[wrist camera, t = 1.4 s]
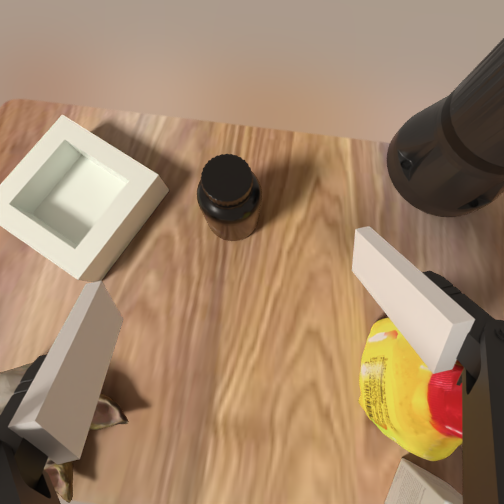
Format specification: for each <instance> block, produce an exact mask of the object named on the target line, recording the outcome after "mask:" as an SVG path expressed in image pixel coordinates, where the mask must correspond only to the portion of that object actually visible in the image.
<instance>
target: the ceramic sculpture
mask: <svg viewBox="0 0 504 504" xmlns="http://www.w3.org/2000/svg"><path fill="white" fill-rule="evenodd" d="M31 365H32V363H31V364H26V365H23V366H21V367H18V368H15V369H11V370H8V371H4V372H0V415H1V413H2V411H3V410H4V408H5V406H6V405H7V403H8V401H9V399H10V398H11V396H12V395H14V391H15V389H16V388H17V386H18V384H20V381H21V379H22V377H23V376H24V374H25V372H26V370H27V369H28V368H29V367H30V366H31ZM116 424H128V420H127V418H126V416H125V415H124V413H123V411H122V410H121V408H120V407H119V406H118V404H117V403H115V402H114V401H113V400H112V399H111V398H110V397H108V396H105V395H103V394H100V396H99V399H98V403H97V406H96V409H95V412H94V415H93V419H92V422H91V425H90V428H89V430H96V429H103V428H106V427H110V426H113V425H116ZM44 470H45V471H46V472H47V473H48V474H49V477H50V479H51V482H52V484H53V486H54V489H55V491H56V493H58V494H60V495H61V497H62V498H63V499H64V500H66V501H67V502H69V503H70V501H71V500H72V497H73V485H72V484H73V464H72V461H70V462H66V463H62V464H56V463H55V462H53V461H52V460H51V459H49V458H48V460H47V462H46V465H45V467H44Z"/></svg>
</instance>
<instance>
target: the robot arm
mask: <svg viewBox="0 0 504 504" xmlns="http://www.w3.org/2000/svg"><path fill="white" fill-rule="evenodd" d="M387 167H388V172H389V175H390V178H391V180H392V182H393V184H394V186H395V188H396V189H397V191H398V192H399V193H400V194H401V196H402V197H403V198H404V199H405V200H407V201H408V202H409V203H410V204H412V205H413V206H414V207H416V208H418V209H420V210H422V211H424V212H426V213H429V214H432V215H436V216H442V217H456V216H462V215H465V214H468V213H471V212H473V211H475V210H478V209H480V208H482V207H484V206H486V205H488V204H489V203H491V202H492V201H494V200H495V199H496V198H497V197H498V196H499V195H500V194H501V193H502V192H504V38H503V40H501V41H500V43H499V44H498V45H497V46H496V47H495V48H494V49H493V50H492V51H491V52H490V53H489V54H488V55H487V56H486V57H485V58H484V59H483V60H482V61H481V62H480V63H479V64H478V66H477V67H476V68H475V69H474V70H473V71H472V72H471V73H470V74H469V75H468V76H467V77H466V78H465V79H464V80H463V81H462V82H461V83H460V84H459V85H458V87H457V88H456V89H455V90H454V91H453V92H452V93H451V94H450V95H449V96H447V97H445V98H443V99H442V100H440V101H438V102H437V103H435V104H433V105H431V106H429V107H428V108H426V109H424V110H422V111H421V112H419V113H417V114H416V115H414V116H413V117H411V118H410V119H409V120H408V121H407V122H406V123H405V124H404V125H403V126H402V127H401V128H400V130H399V131H398V132H397V133H396V134H395V136H394V137H393V139H392V141H391V143H390V145H389V148H388V153H387ZM352 271H353V272H354V274H355V275H356V276H357V278H358V279H359V280H360V281H361V283H362V284H363V285H364V286H365V288H366V289H367V290H368V292H369V293H370V294H371V295H372V297H373V298H374V299H375V300H376V302H377V303H378V304H379V306H380V307H381V308H382V309H383V311H384V312H385V313H386V314H387V316H388V317H389V318H390V320H391V321H392V322H393V323H394V325H395V326H396V327H397V328H398V330H399V331H400V332H401V334H402V335H403V336H404V337H405V339H406V340H407V341H408V342H409V344H410V345H411V346H412V348H413V349H414V350H415V351H416V353H417V354H418V355H419V356H420V358H421V359H422V360H423V362H424V363H425V364H426V365H427V367H428V368H429V369H430V370H431V372H432V373H433V374H435V373H439V372H443V371H447V370H452V369H453V367H454V364H455V362H456V360H458V361H459V362H460V363H461V365H462V366H463V367H464V369H463V371H462V373H461V375H460V377H459V379H458V381H457V384H456V385H458V386H460V385H461V383H462V458H463V504H504V321H503V320H495V319H494V318H492V317H491V316H490V315H489V314H488V313H486V312H485V311H484V310H483V309H482V308H480V307H479V306H478V305H477V304H475V303H474V302H473V301H472V300H471V299H469V298H468V297H467V296H466V295H465V294H462V293H461V291H460V290H458V289H457V288H456V287H453V285H452V284H451V283H450V282H449V281H448V280H446V279H445V278H444V277H442V276H440V275H438V274H436V273H434V272H432V271H427V272H421V271H420V270H419V269H417V268H416V267H415V266H414V265H413V264H412V263H411V262H409V261H408V260H407V259H406V258H405V257H404V256H403V255H402V254H400V253H399V252H398V251H397V250H396V249H395V248H394V247H392V246H391V245H390V244H389V243H388V242H387V241H386V240H385V239H383V238H382V237H381V236H380V235H379V234H378V233H377V232H375V231H374V230H373V229H372V228H371V227H370V226H368V227H363V228H358V229H355V241H354V252H353V264H352ZM122 322H123V317H122V316H121V314H120V312H119V310H118V309H117V307H116V305H115V303H114V302H113V300H112V298H111V296H110V295H109V293H108V291H107V289H106V288H105V286H104V284H103V282H102V281H98V282H93V283H88V284H86V285H85V286H84V288H83V290H82V292H81V294H80V296H79V297H78V299H77V301H76V303H75V305H74V307H73V308H72V310H71V312H70V314H69V316H68V318H67V319H66V321H65V323H64V325H63V327H62V329H61V330H60V332H59V334H58V336H57V338H56V340H55V341H54V343H53V345H52V347H51V349H50V351H49V352H48V354H47V355H42V356H39V357H38V358H37V359H36V360H35V361H34V362H33V363H32V365H31V366H30V367H29V368H28V369H27V370H26V372H25V374H24V376H23V377H22V379H21V381H20V384H18V386H17V388H16V389H15V391H14V395H12V396H11V398H10V399H9V401H8V403H7V405H6V406H5V408H4V410H3V411H2V413H1V415H0V504H61V503H60V501H59V499H58V496H57V494H56V491H55V489H54V486H53V484H52V482H51V479H50V477H49V474H48V473H47V472H46V471H45V470H44V467H45V465H46V462H47V460H48V458H49V459H51V460H52V461H53V462H55V463H56V464H62V463H66V462H70V461H74V460H78V459H80V457H81V454H82V451H83V447H84V444H85V441H86V438H87V435H88V431H89V428H90V425H91V422H92V419H93V415H94V412H95V409H96V406H97V403H98V399H99V396H100V393H101V390H102V386H103V383H104V380H105V377H106V374H107V370H108V367H109V364H110V361H111V358H112V354H113V351H114V348H115V345H116V342H117V338H118V335H119V332H120V329H121V325H122Z"/></svg>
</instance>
